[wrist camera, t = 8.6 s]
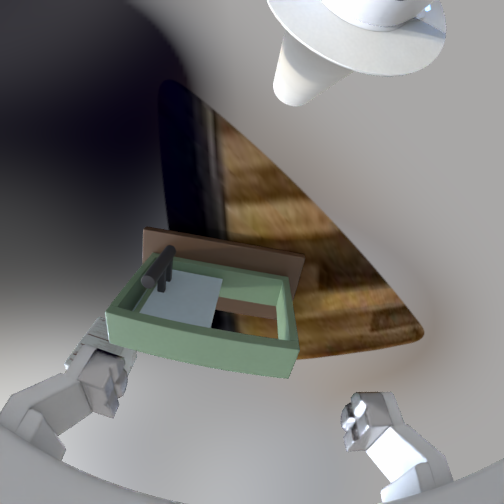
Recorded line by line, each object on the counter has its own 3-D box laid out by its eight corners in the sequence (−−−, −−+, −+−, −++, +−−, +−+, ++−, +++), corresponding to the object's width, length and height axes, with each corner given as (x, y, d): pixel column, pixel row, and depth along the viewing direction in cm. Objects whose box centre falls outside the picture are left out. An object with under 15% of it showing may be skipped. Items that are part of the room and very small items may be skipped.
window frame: (146, 226, 36) (88, 280, 22) (304, 254, 37) (326, 325, 23) (145, 290, 40) (101, 359, 26) (286, 316, 41) (295, 398, 27)
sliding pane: (164, 236, 34) (128, 278, 24) (227, 247, 34) (213, 296, 24) (162, 270, 36) (130, 321, 25) (222, 282, 36) (208, 338, 26)
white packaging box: (138, 357, 46) (113, 410, 34) (102, 345, 45) (72, 394, 34) (136, 326, 43) (106, 381, 31) (98, 314, 42) (62, 363, 31)
